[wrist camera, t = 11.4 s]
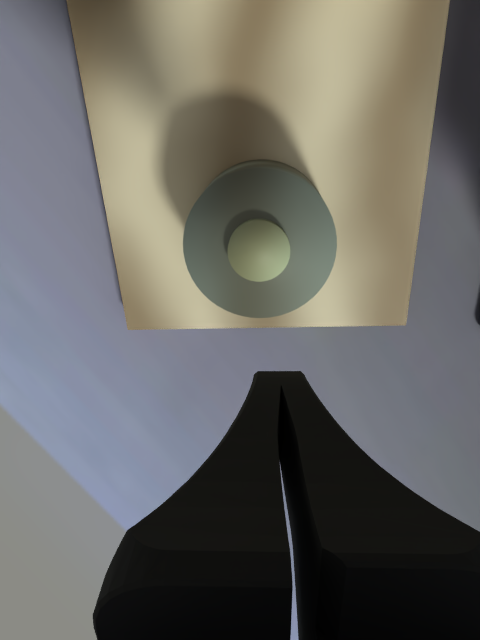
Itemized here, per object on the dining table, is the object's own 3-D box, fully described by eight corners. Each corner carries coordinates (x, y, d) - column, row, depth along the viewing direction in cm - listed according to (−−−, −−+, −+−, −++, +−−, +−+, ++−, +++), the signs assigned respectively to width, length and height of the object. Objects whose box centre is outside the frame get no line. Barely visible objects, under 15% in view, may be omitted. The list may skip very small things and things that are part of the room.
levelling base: (472, -265, 13) (562, -431, 9) (399, 314, 22) (428, 362, 18) (40, -214, 14) (-52, -341, 10) (134, 319, 23) (105, 365, 19)
